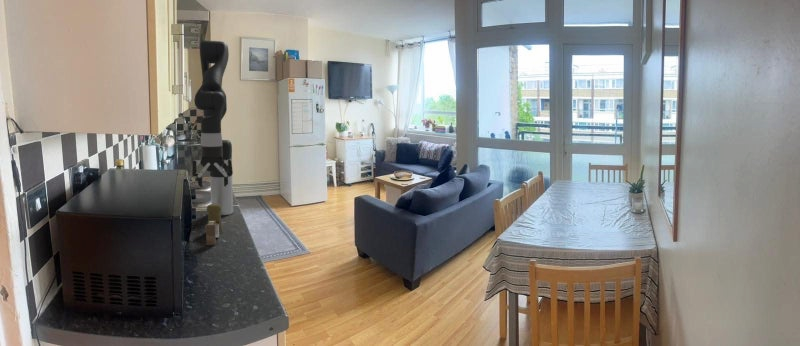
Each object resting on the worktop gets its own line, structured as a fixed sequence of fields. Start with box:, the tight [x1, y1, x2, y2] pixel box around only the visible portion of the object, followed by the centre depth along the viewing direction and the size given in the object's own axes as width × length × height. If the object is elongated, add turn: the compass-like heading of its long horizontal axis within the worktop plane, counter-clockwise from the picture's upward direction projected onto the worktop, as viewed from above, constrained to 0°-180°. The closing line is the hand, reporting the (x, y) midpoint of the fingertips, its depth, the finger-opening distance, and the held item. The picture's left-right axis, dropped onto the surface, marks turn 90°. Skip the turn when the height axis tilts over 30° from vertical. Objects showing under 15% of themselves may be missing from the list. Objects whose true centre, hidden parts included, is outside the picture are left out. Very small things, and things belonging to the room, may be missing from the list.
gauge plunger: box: [206, 221, 221, 238], centre depth 172 cm, size 5×4×6 cm
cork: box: [206, 203, 224, 234], centre depth 179 cm, size 6×6×11 cm
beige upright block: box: [205, 221, 217, 246], centre depth 165 cm, size 6×3×8 cm, turn 17°
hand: (213, 186), depth 177 cm, fingers open, 8 cm apart
